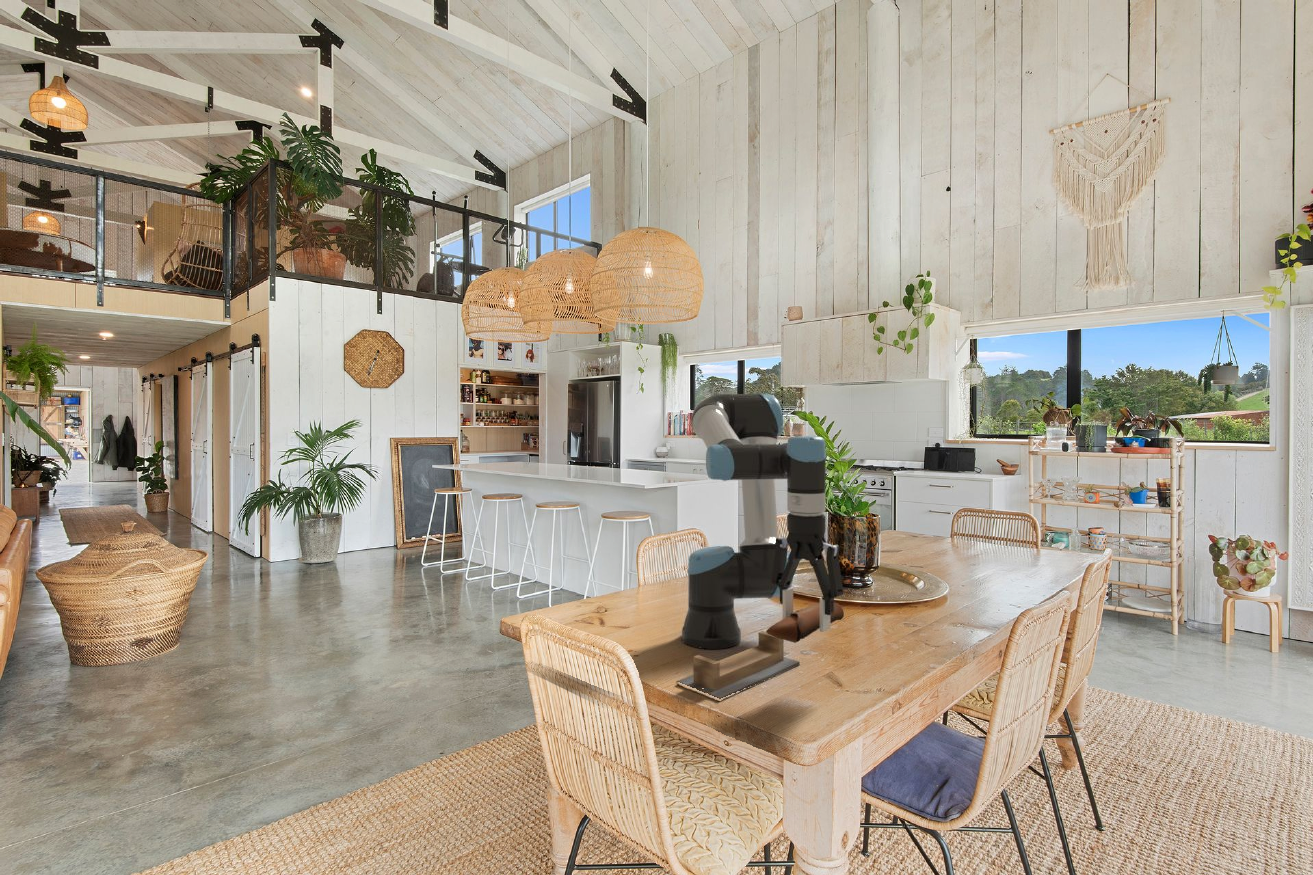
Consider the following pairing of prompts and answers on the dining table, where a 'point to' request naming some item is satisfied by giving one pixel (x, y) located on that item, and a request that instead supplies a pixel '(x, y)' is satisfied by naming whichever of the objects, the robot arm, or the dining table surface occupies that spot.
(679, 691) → the dining table surface
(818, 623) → the sunglasses case
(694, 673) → the case stand
